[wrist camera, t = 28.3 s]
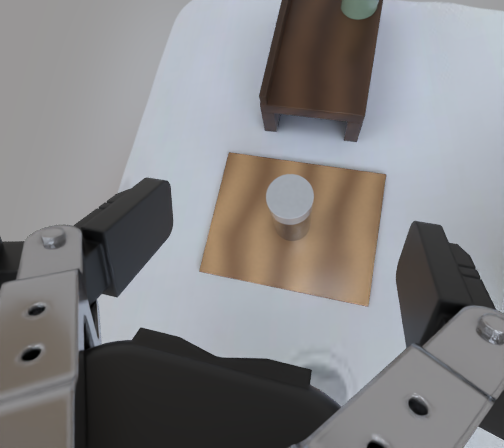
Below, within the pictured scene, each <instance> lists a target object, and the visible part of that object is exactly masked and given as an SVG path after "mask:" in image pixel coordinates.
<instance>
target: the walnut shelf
mask: <svg viewBox="0 0 504 448" xmlns="http://www.w3.org/2000/svg"><path fill="white" fill-rule="evenodd" d="M382 3H383V0H379V3H378V7H377V10H376V11H375V12H374V14H372V15H371V16H370V17H368V18H365V19H360V20H356V19H351V18H349V17H347V16H346V15H344V13H343V12H342V10H341V0H282V2H281V6H280V10H279V15H278V19H277V23H276V27H275V31H274V36H273V40H272V44H271V48H270V52H269V57H268V61H267V65H266V69H265V73H264V78H263V82H262V86H261V90H260V94H259V98H260V107H261V112H262V118H263V123H264V128H265V130H266V131H274V132H276V131H277V127H278V123H279V118H280V114H286V115H294V116H303V117H312V118H320V119H329V120H338V121H346V122H347V125H346V131H345V137H344V140H345V141H353V142H357V139H358V136H359V133H360V130H361V127H362V123H363V120H364V117H365V112H366V105H367V99H368V93H369V86H370V80H371V73H372V67H373V61H374V54H375V48H376V41H377V35H378V28H379V22H380V16H381V9H382Z"/></svg>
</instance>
